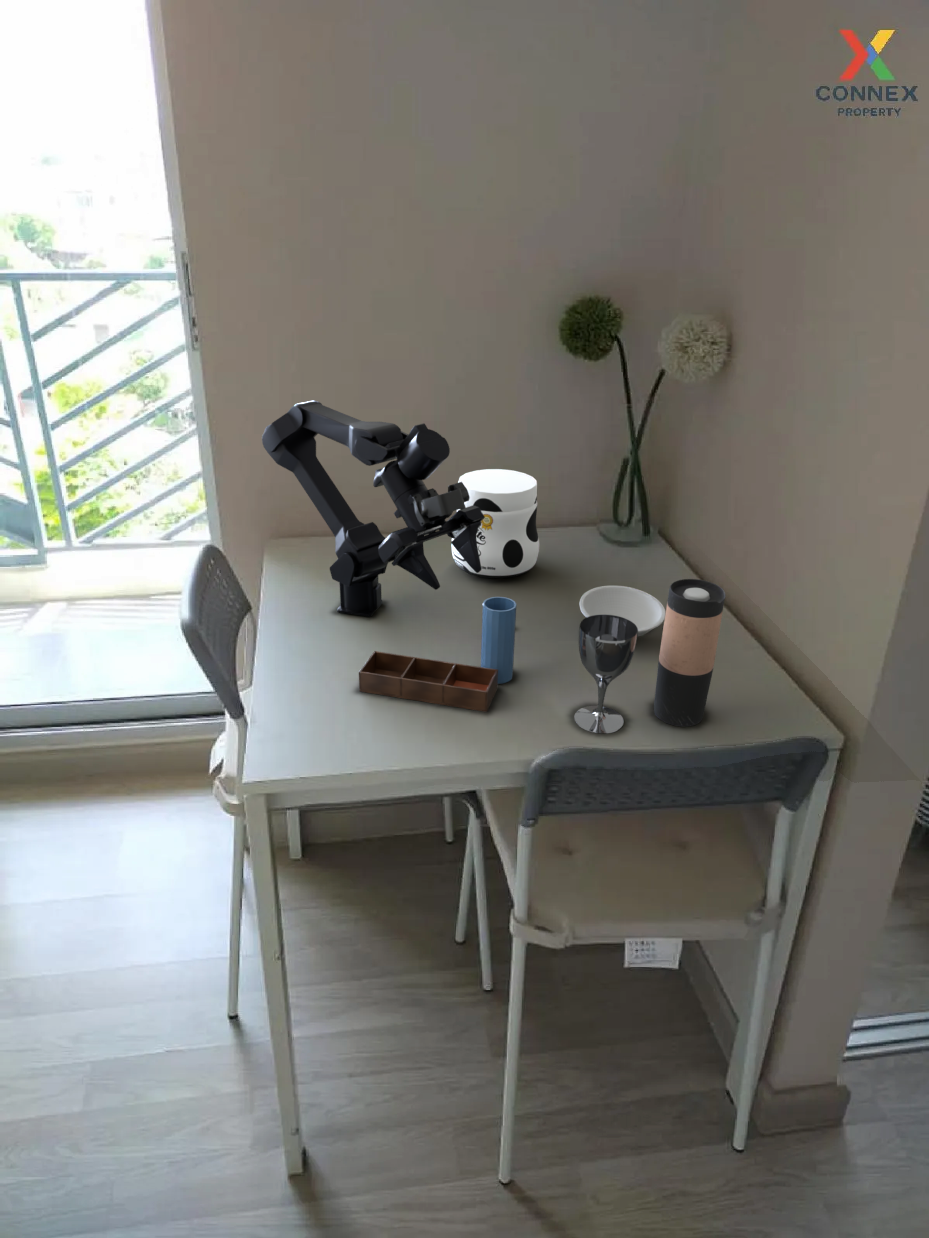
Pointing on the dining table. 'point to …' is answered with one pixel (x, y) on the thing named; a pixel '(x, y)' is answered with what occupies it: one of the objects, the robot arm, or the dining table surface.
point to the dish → (624, 606)
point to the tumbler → (498, 636)
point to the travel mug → (688, 651)
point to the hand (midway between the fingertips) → (459, 579)
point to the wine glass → (604, 665)
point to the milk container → (502, 522)
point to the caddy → (429, 681)
